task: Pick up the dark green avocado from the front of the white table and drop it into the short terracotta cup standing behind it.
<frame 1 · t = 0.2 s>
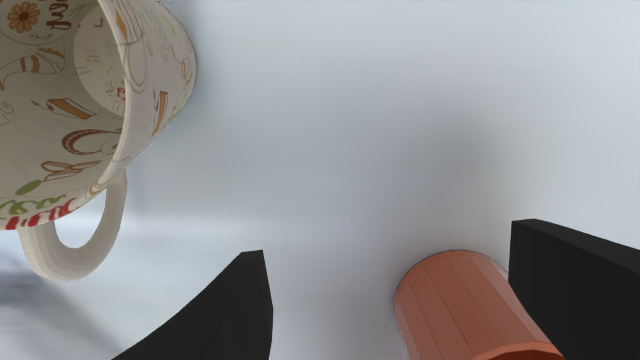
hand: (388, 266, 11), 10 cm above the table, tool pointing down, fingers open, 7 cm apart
cup: (451, 301, 23), on the table
mug: (141, 105, 19), on the table
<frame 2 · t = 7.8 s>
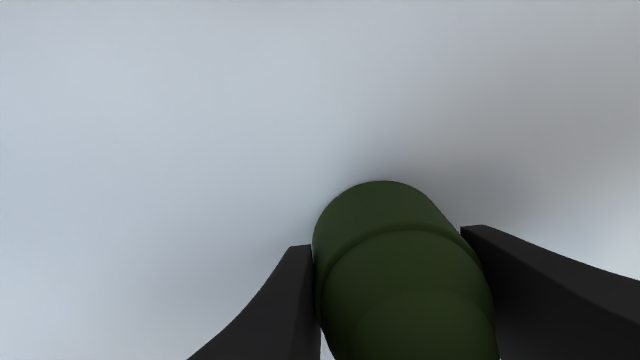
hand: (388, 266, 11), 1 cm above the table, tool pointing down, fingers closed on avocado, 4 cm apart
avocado: (378, 242, 12), on the table, touching gripper
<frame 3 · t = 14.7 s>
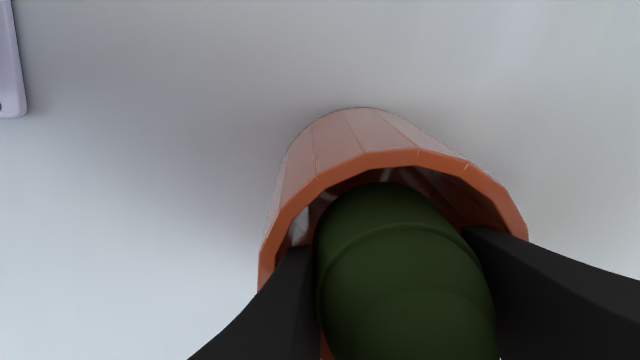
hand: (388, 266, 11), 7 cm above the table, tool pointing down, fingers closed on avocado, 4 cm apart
cup: (357, 187, 17), on the table, touching gripper
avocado: (378, 243, 12), point 5 cm above the table, touching gripper
when the fingers open (10 cm above the table, at t = 28.8 s): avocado drops 8 cm, resting on cup.
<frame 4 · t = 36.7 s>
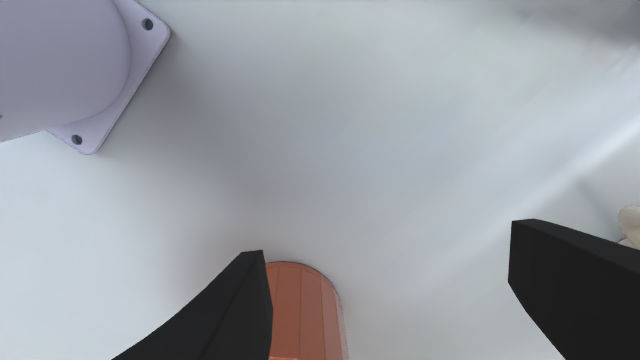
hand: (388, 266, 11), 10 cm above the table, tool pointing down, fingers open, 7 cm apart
cup: (283, 311, 23), on the table, touching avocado
mug: (616, 251, 23), on the table
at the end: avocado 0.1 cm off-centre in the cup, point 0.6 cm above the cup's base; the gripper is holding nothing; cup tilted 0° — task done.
